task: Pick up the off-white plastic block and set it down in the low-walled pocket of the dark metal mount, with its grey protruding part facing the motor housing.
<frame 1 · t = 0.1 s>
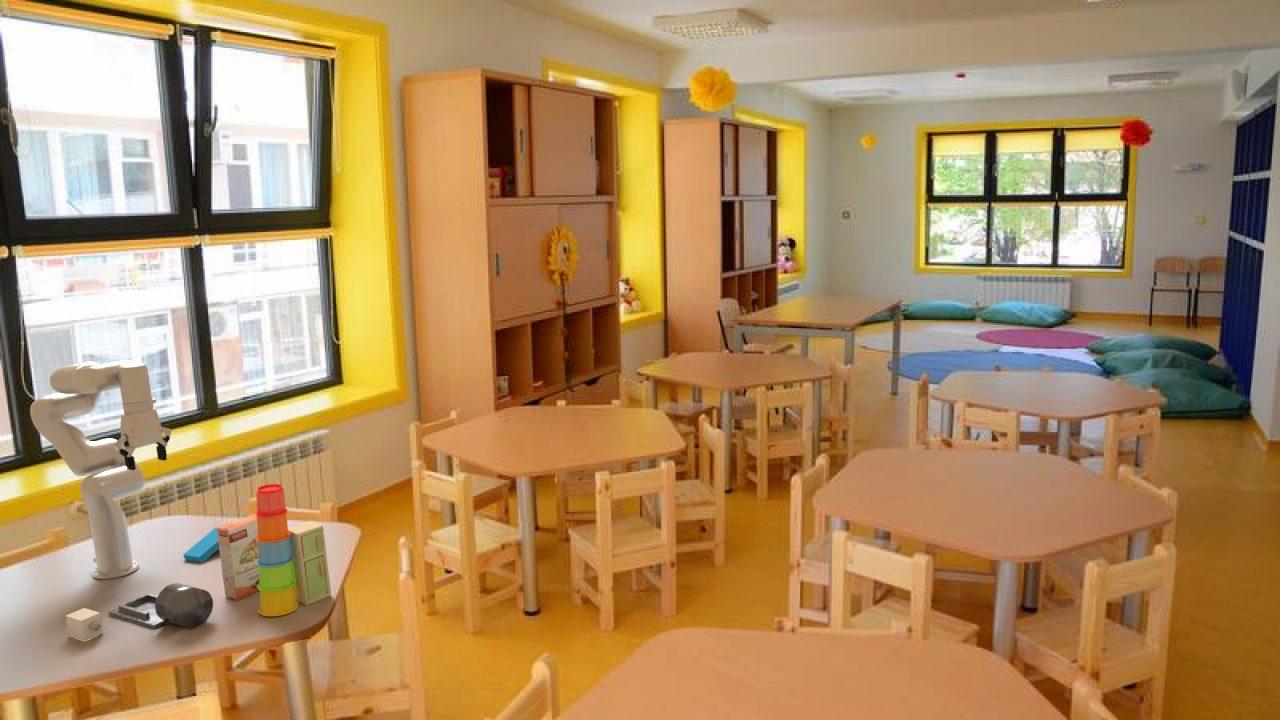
hand: (147, 464, 277), 37 cm above the table, tool pointing down, fingers open, 9 cm apart
blue ramp: (215, 552, 309), on the table
cracker box: (252, 590, 277), on the table
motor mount: (147, 611, 266), on the table
toy refrigerator: (313, 599, 269), on the table
stacking cups: (279, 610, 263), on the table
block: (86, 635, 254), on the table
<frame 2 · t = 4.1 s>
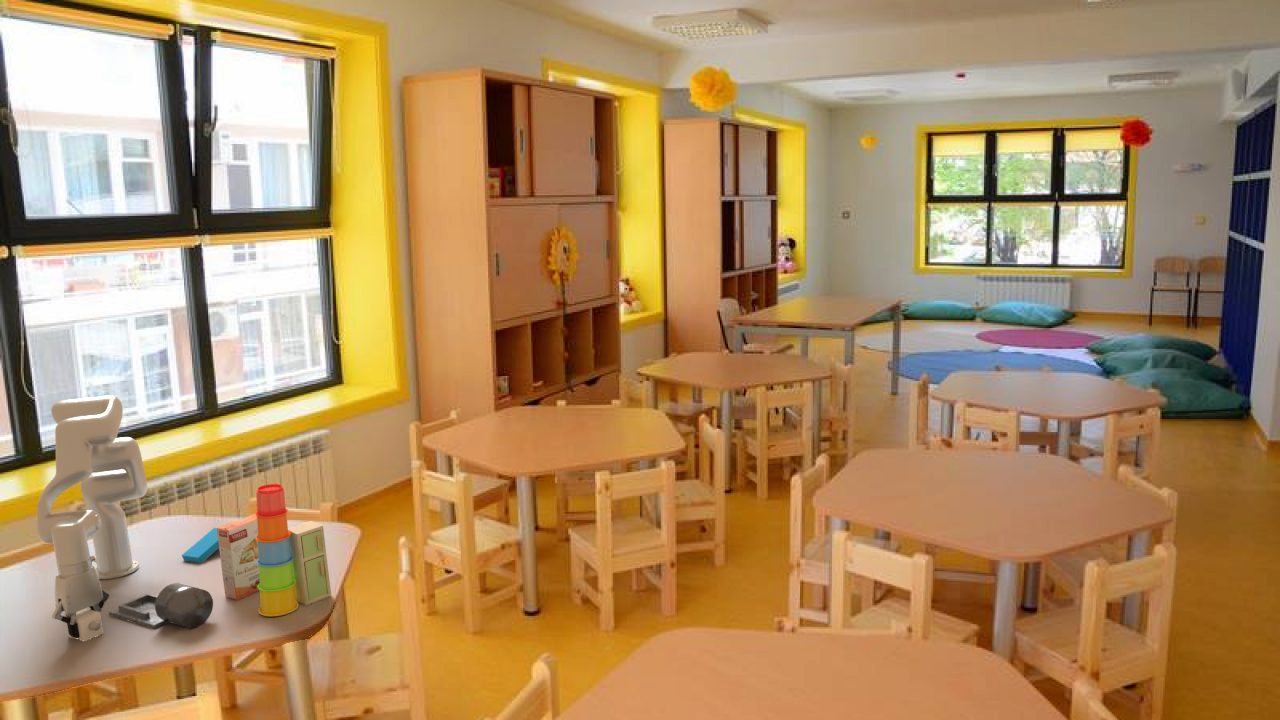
hand: (85, 631, 253), 1 cm above the table, tool pointing down, fingers closed on block, 5 cm apart
block: (86, 635, 254), on the table, touching gripper
everything else where it was.
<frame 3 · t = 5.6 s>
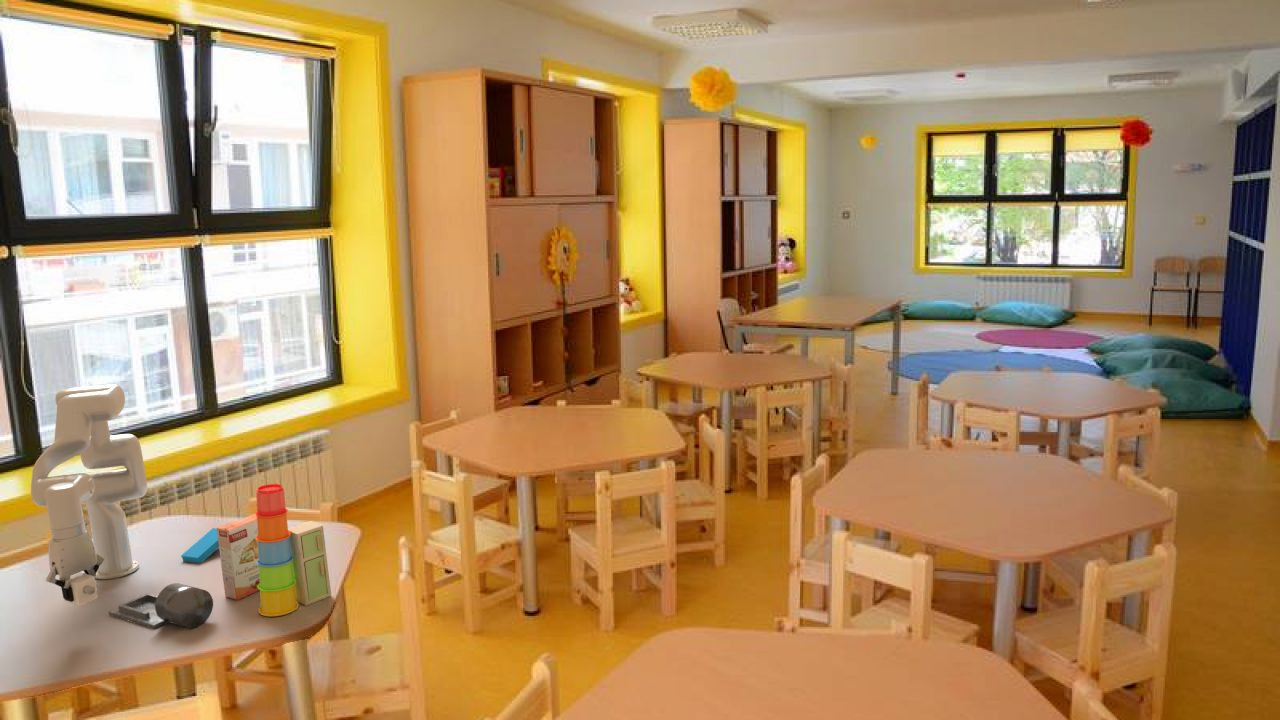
hand: (80, 595, 252), 11 cm above the table, tool pointing down, fingers closed on block, 5 cm apart
block: (80, 599, 252), point 10 cm above the table, touching gripper
everything else where it was.
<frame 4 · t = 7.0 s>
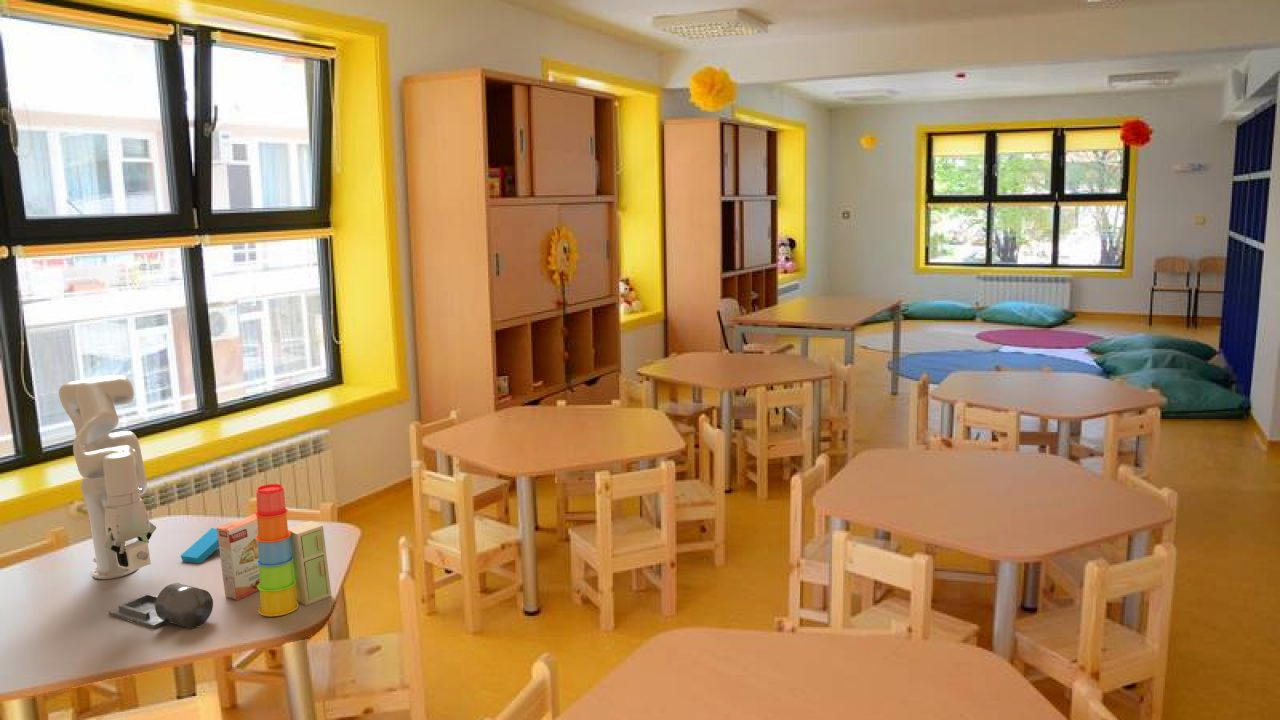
hand: (133, 561, 262), 15 cm above the table, tool pointing down, fingers closed on block, 5 cm apart
block: (134, 564, 263), point 14 cm above the table, touching gripper
everything else where it was.
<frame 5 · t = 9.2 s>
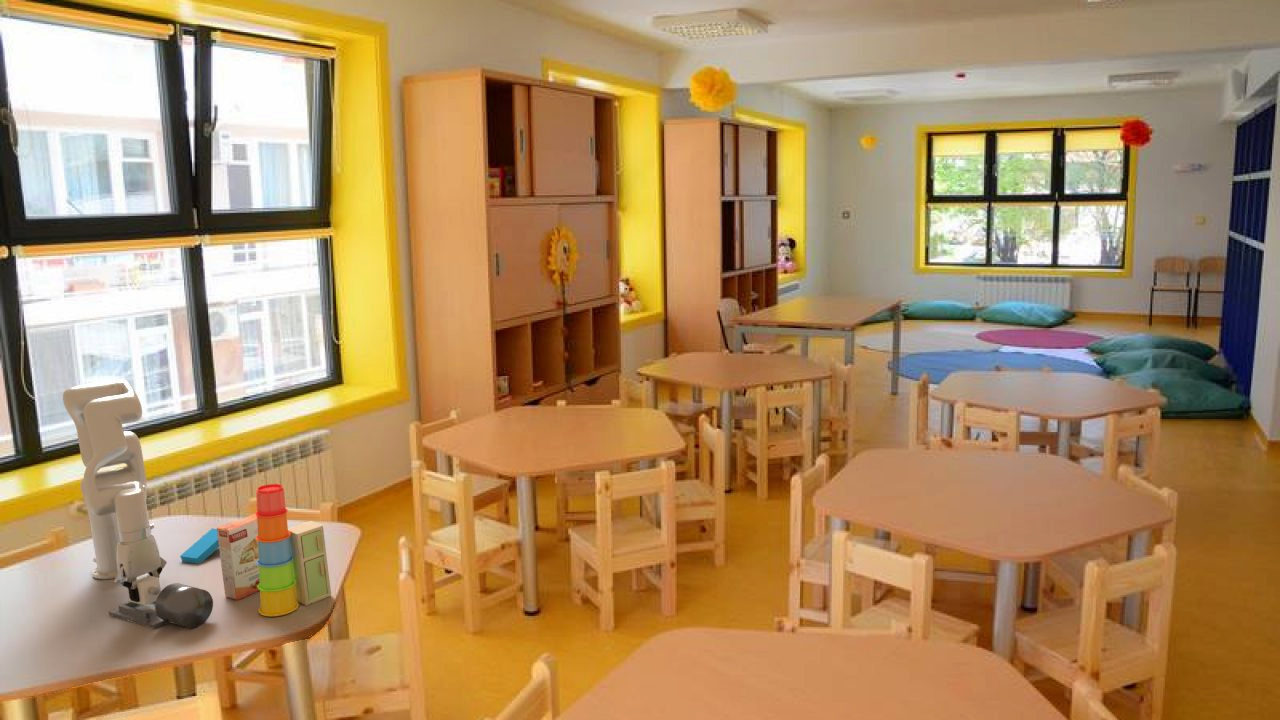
hand: (145, 596, 265), 4 cm above the table, tool pointing down, fingers closed on block, 5 cm apart
block: (145, 599, 266), point 3 cm above the table, touching gripper
when the fingers open (4 cm above the table, at t = 10.1 s): block drops 2 cm, resting on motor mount.
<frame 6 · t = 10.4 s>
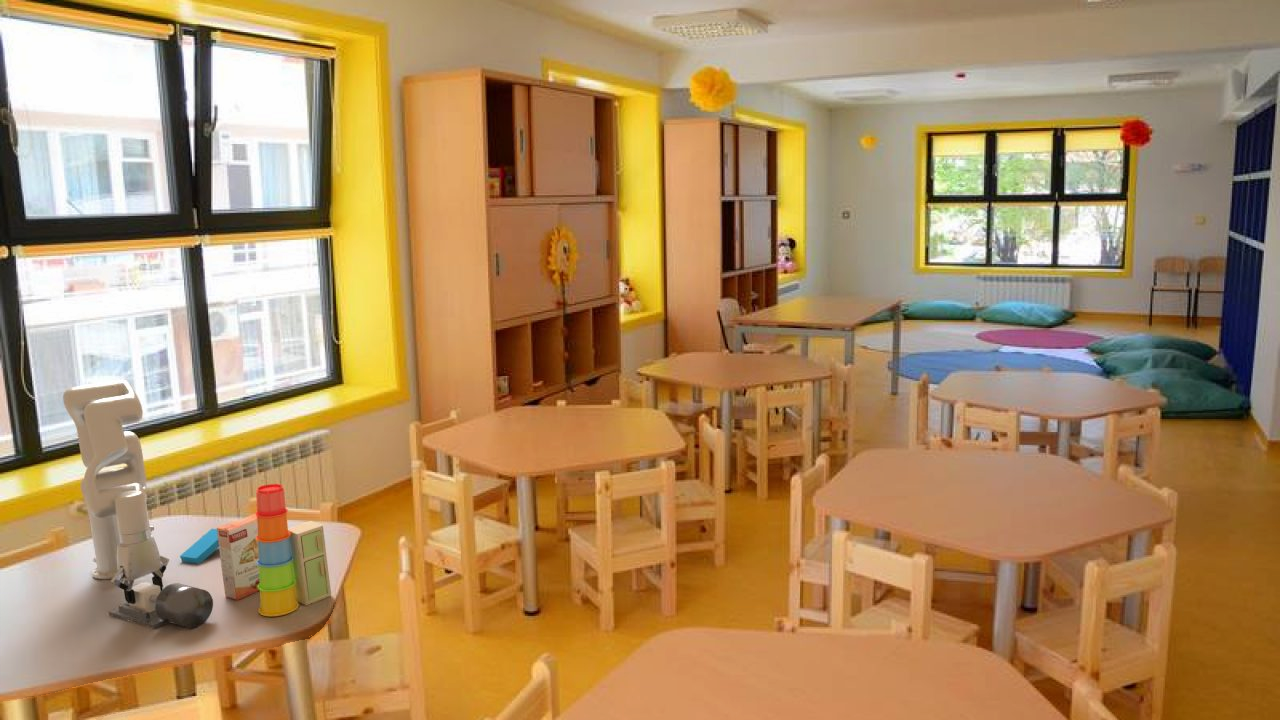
hand: (145, 596, 265), 4 cm above the table, tool pointing down, fingers open, 7 cm apart
block: (146, 607, 266), point 1 cm above the table, touching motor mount
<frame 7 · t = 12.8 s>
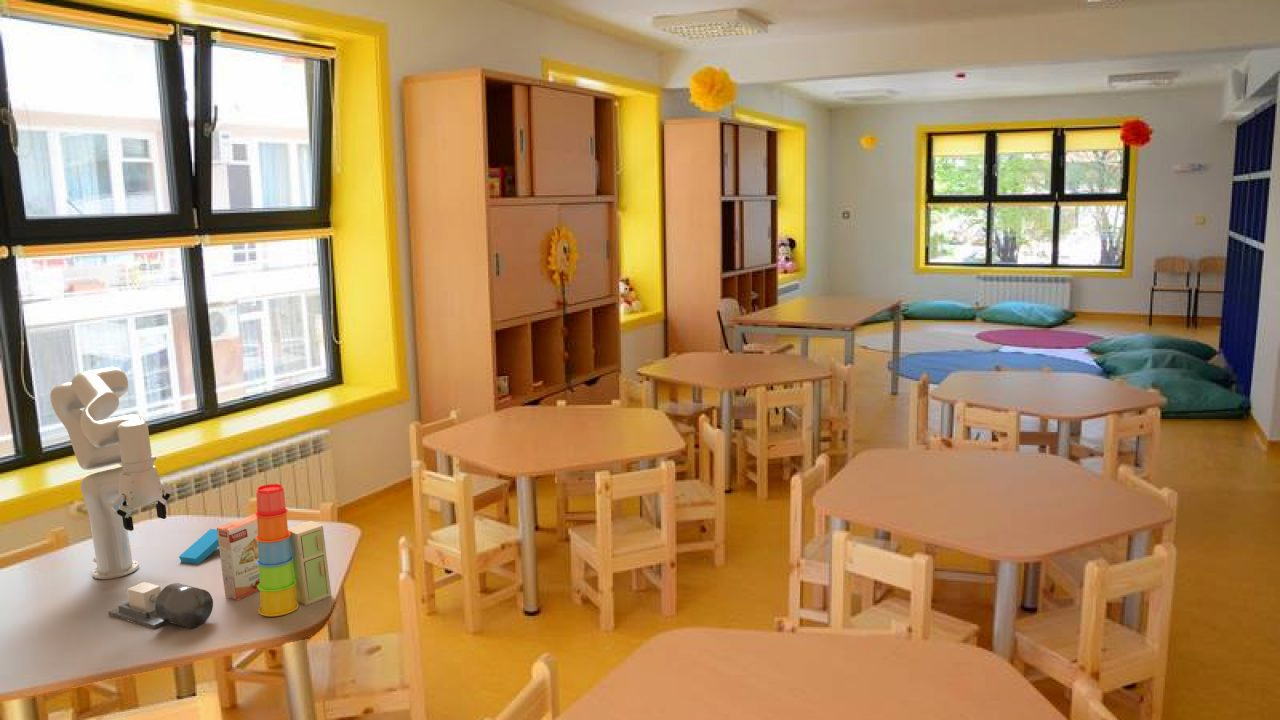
hand: (145, 523, 269), 23 cm above the table, tool pointing down, fingers open, 9 cm apart
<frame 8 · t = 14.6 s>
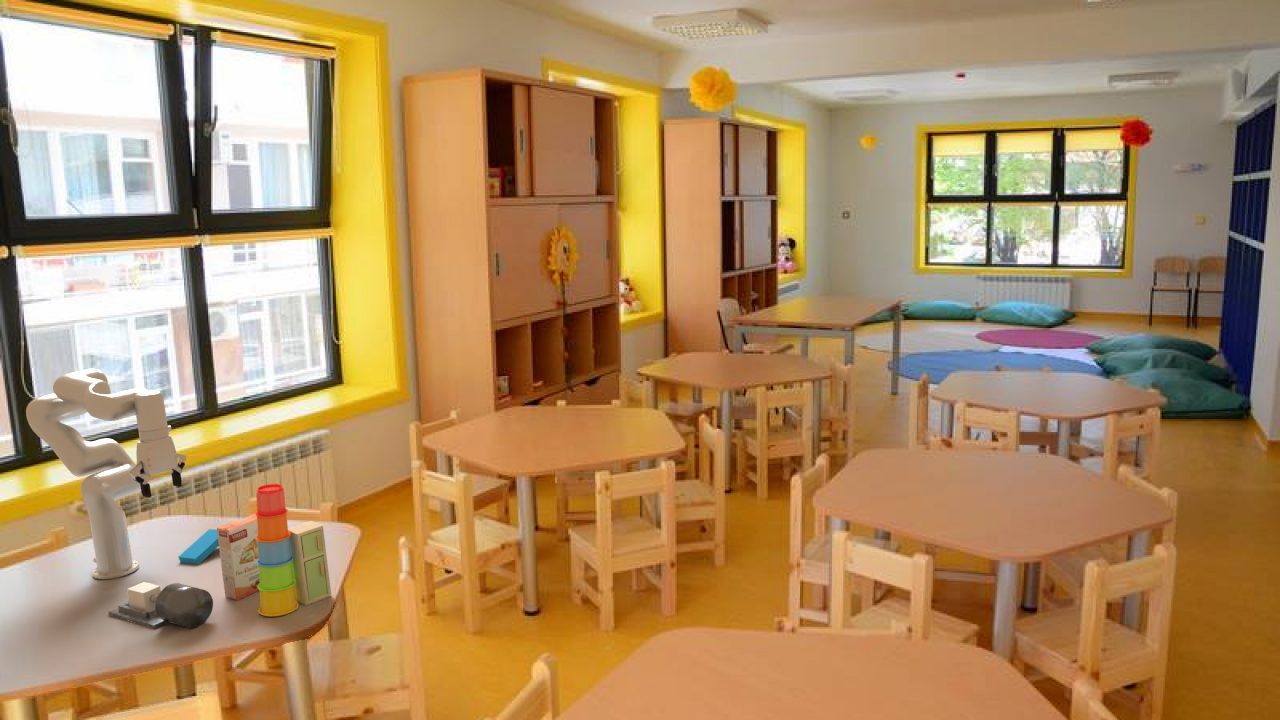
hand: (162, 491, 279), 28 cm above the table, tool pointing down, fingers open, 9 cm apart
at the end: block 0.5 cm off-centre on the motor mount, point 1.0 cm above the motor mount's base; block tilted 0°; the gripper is holding nothing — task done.
